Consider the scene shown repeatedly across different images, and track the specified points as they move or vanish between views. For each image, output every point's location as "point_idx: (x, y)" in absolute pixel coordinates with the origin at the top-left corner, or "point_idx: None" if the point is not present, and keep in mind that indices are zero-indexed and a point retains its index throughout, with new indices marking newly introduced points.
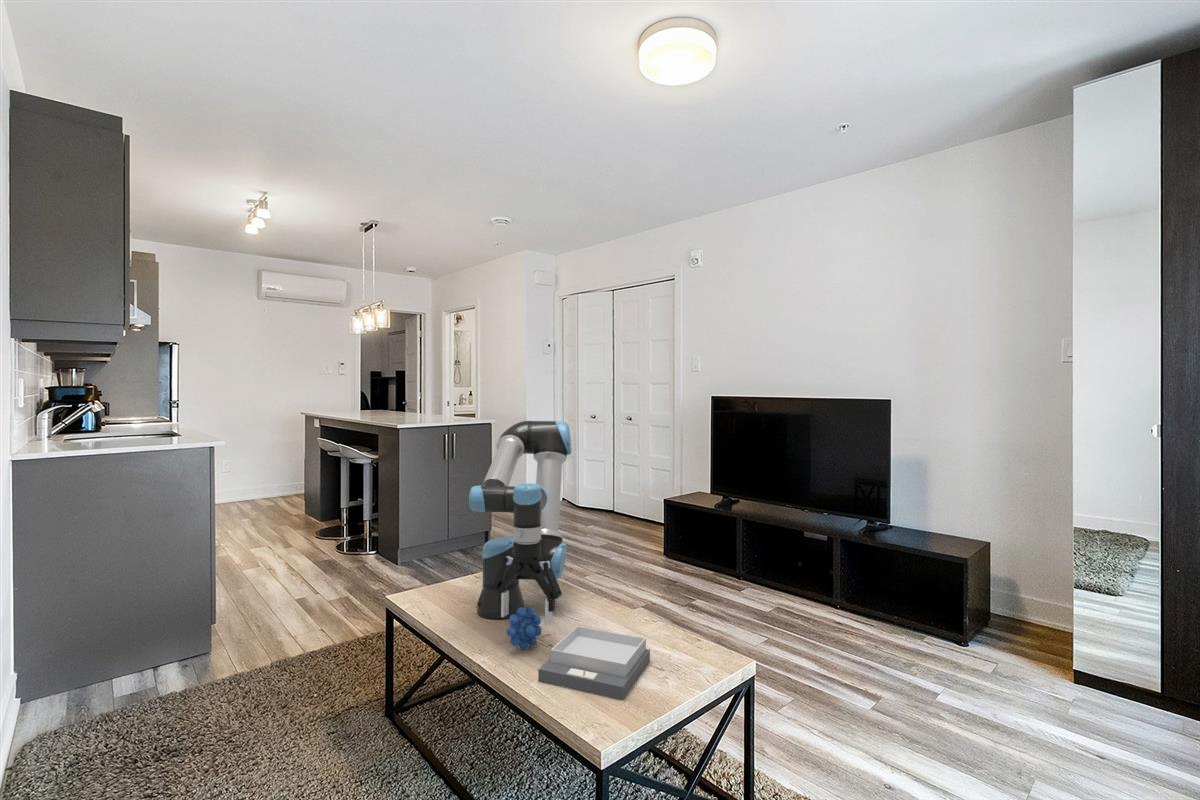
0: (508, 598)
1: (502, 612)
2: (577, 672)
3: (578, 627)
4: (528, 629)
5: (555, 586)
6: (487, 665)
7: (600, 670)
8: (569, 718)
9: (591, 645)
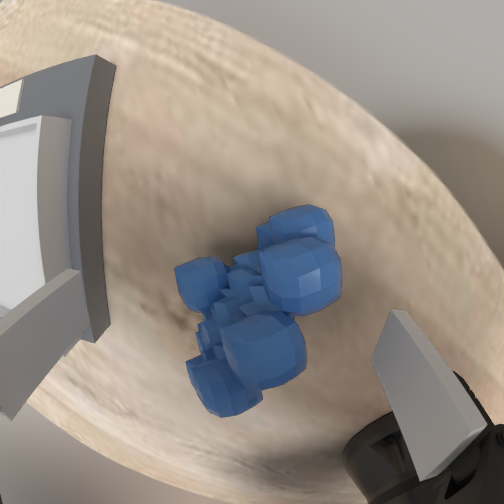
0: (404, 433)
1: (409, 326)
2: (4, 100)
3: None
4: (201, 267)
5: None
6: (340, 103)
7: None
8: (38, 2)
9: (17, 273)
